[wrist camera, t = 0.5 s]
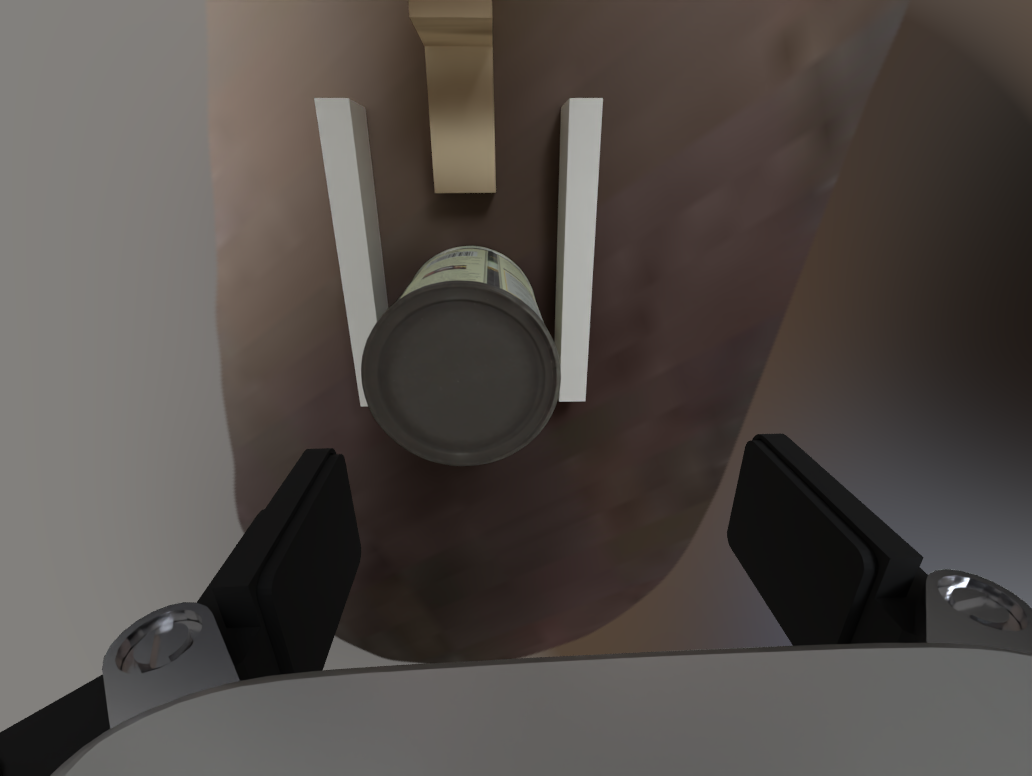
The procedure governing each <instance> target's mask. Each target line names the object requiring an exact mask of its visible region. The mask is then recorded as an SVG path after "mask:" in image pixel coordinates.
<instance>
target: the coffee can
mask: <svg viewBox="0 0 1032 776" xmlns="http://www.w3.org/2000/svg"><path fill="white" fill-rule="evenodd" d="M361 379H362V387H363V391H364V396H365V399H366V402H367V405H368V407H369V409H370V411H371V413H372V415H373V417H374V418H375V420H376V421H377V423H378V424H379V425H380V427H381V428H382V429H383V430H384V431H385V432H386V433H387V434H388V435H389V436H390V437H391V438H392V439H393V440H394V441H395V442H396V443H398V444H399V445H401V446H402V447H403V448H404V449H406V450H408V451H409V452H411V453H413V454H415V455H417V456H419V457H421V458H424V459H426V460H429V461H432V462H436V463H441V464H446V465H452V466H473V465H481V464H487V463H491V462H494V461H497V460H500V459H503V458H505V457H508V456H510V455H512V454H513V453H515V452H517V451H518V450H520V449H522V448H523V447H525V446H526V445H527V444H528V443H530V442H531V441H532V440H533V439H534V438H535V437H536V436H537V435H538V434H539V433H540V432H541V430H542V429H543V428H544V426H545V425H546V424H547V422H548V420H549V419H550V417H551V415H552V413H553V411H554V408H555V406H556V403H557V400H558V396H559V392H560V384H561V368H560V360H559V356H558V352H557V348H556V346H555V343H554V341H553V339H552V337H551V335H550V333H549V331H548V329H547V328H546V326H545V324H544V322H543V320H542V317H541V314H540V311H539V309H538V306H537V304H536V301H535V296H534V293H533V289H532V287H531V285H530V283H529V281H528V279H527V277H526V276H525V274H524V273H523V272H522V270H521V269H520V268H519V267H518V266H517V265H516V264H515V263H514V262H513V261H512V260H510V259H509V258H507V257H506V256H504V255H503V254H501V253H499V252H497V251H494V250H492V249H488V248H485V247H479V246H461V247H455V248H451V249H448V250H446V251H443V252H441V253H439V254H437V255H435V256H434V257H432V258H431V259H430V260H429V261H427V262H426V263H425V264H424V265H423V266H422V267H421V268H420V269H419V271H418V272H417V273H416V275H415V277H414V278H413V280H412V282H411V283H410V284H409V286H408V287H407V288H406V290H405V291H404V292H403V293H402V294H401V295H400V297H399V298H398V300H397V301H396V302H395V303H394V304H393V305H392V306H391V307H390V308H389V309H388V310H387V311H386V312H385V313H384V314H383V315H382V316H381V318H380V319H379V320H378V321H377V323H376V324H375V326H374V327H373V329H372V331H371V333H370V335H369V337H368V338H367V341H366V344H365V347H364V351H363V355H362V363H361Z"/></svg>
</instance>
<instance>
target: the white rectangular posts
mask: <svg viewBox="0 0 1032 776" xmlns="http://www.w3.org/2000/svg"><path fill="white" fill-rule="evenodd" d="M314 101H315V107H316V114H317V121H318V127H319V134H320V141H321V147H322V154H323V160H324V167H325V174H326V180H327V187H328V194H329V200H330V207H331V213H332V220H333V227H334V233H335V240H336V247H337V253H338V260H339V266H340V273H341V280H342V286H343V293H344V300H345V306H346V313H347V319H348V326H349V333H350V339H351V346H352V353H353V359H354V366H355V372H356V379H357V386H358V392H359V399H360V406H361V407H363V406H368V405H367V402H366V399H365V396H364V391H363V387H362V379H361V363H362V355H363V351H364V347H365V344H366V341H367V338H368V337H369V335H370V333H371V331H372V329H373V327H374V326H375V324H376V323H377V321H378V320H379V319H380V318H381V316H382V315H383V314H384V313H385V312H386V311H387V310H388V300H387V291H386V282H385V274H384V265H383V256H382V247H381V239H380V230H379V221H378V212H377V204H376V195H375V186H374V178H373V169H372V160H371V151H370V143H369V134H368V125H367V116H366V108H365V107H364V106H362V105H360V104H359V103H357V102H355V101H353V100H351V99H350V98H314ZM602 107H603V98H569V99H568V100H567V101H566V103H565V104H564V105H563V106H562V107H561V123H560V159H559V195H558V231H557V267H556V302H555V338H554V343H555V346H556V348H557V352H558V356H559V360H560V368H561V384H560V392H559V396H558V399H559V402H572V401H585V399H586V382H587V364H588V347H589V330H590V313H591V296H592V279H593V261H594V244H595V227H596V210H597V193H598V175H599V158H600V141H601V124H602Z"/></svg>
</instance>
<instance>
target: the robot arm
mask: <svg viewBox="0 0 1032 776" xmlns="http://www.w3.org/2000/svg"><path fill="white" fill-rule="evenodd" d="M727 538H728V542H729V545H730V547H731V549H732V551H733V552H734V554H735V555H736V557H737V558H738V560H739V562H740V563H741V565H742V566H743V568H744V569H745V571H746V573H747V574H748V576H749V577H750V579H751V580H752V582H753V584H754V585H755V587H756V588H757V590H758V591H759V593H760V595H761V596H762V598H763V599H764V601H765V602H766V604H767V606H768V607H769V609H770V610H771V612H772V613H773V615H774V616H775V618H776V620H777V621H778V623H779V624H780V626H781V627H782V629H783V631H784V632H785V634H786V635H787V637H788V638H789V640H790V641H791V643H792V645H793V646H777V647H755V648H730V649H709V650H708V649H707V650H684V651H665V652H664V651H663V652H642V653H624V654H623V653H622V654H602V655H582V656H560V657H543V658H542V657H540V658H521V659H503V660H485V661H466V662H448V663H430V664H412V665H396V666H380V667H366V668H351V669H336V670H324V671H322V670H323V667H324V664H325V662H326V658H327V656H328V653H329V650H330V647H331V644H332V641H333V638H334V635H335V633H336V630H337V627H338V624H339V621H340V618H341V615H342V612H343V609H344V606H345V603H346V601H347V598H348V595H349V592H350V589H351V586H352V583H353V580H354V577H355V574H356V572H357V569H358V566H359V563H360V558H361V544H360V539H359V533H358V528H357V523H356V517H355V512H354V507H353V501H352V496H351V490H350V485H349V480H348V474H347V469H346V463H345V459H344V456H343V455H342V454H336V452H335V450H334V449H333V448H327V449H307V450H305V451H304V453H303V454H302V456H301V457H300V459H299V460H298V462H297V463H296V465H295V466H294V467H293V469H292V470H291V472H290V473H289V475H288V476H287V478H286V479H285V481H284V482H283V484H282V485H281V487H280V488H279V489H278V491H277V492H276V494H275V495H274V497H273V498H272V500H271V501H270V503H269V504H268V506H267V507H266V509H264V510H262V511H261V512H260V513H259V514H258V515H257V516H256V518H255V519H254V521H253V522H252V524H251V525H250V526H249V528H248V529H247V531H246V532H245V534H244V535H243V537H242V538H241V540H240V541H239V542H238V544H237V545H236V547H235V548H234V550H233V551H232V553H231V554H230V555H229V557H228V558H227V560H226V561H225V563H224V564H223V566H222V567H221V568H220V570H219V571H218V573H217V574H216V576H215V577H214V578H213V580H212V581H211V583H210V584H209V586H208V587H207V589H206V590H205V591H204V593H203V594H202V596H201V597H200V599H199V600H198V601H197V603H192V602H183V603H178V604H174V605H169V606H167V607H164V608H161V609H158V610H156V611H153V612H151V613H150V614H148V615H146V616H144V617H143V618H141V619H139V620H137V621H136V622H135V623H133V624H132V625H131V626H130V627H128V628H127V629H126V630H124V631H123V632H122V633H121V634H120V635H119V637H118V638H117V639H116V640H115V641H114V642H113V643H112V644H111V646H110V647H109V649H108V651H107V653H106V655H105V656H104V660H103V667H102V671H103V675H101V676H99V677H97V678H96V679H94V680H92V681H91V682H89V683H87V684H85V685H83V686H82V687H80V688H78V689H76V690H75V691H73V692H71V693H69V694H68V695H66V696H64V697H62V698H60V699H59V700H57V701H55V702H53V703H52V704H50V705H48V706H46V707H45V708H43V709H41V710H39V711H37V712H36V713H34V714H32V715H30V716H29V717H27V718H25V719H24V720H21V721H20V722H18V723H16V724H14V725H13V726H11V727H9V728H7V729H6V730H4V731H2V732H0V776H1032V608H1031V607H1030V606H1029V605H1028V604H1027V603H1026V602H1025V601H1023V600H1022V599H1020V598H1019V597H1018V596H1016V595H1015V594H1014V593H1012V592H1011V591H1009V590H1007V589H1005V588H1004V587H1002V586H1000V585H998V584H997V583H995V582H993V581H990V580H988V579H985V578H982V577H980V576H978V575H975V574H971V573H968V572H964V571H959V570H951V569H943V570H935V571H934V572H932V573H930V574H928V575H927V574H926V573H925V572H924V571H923V570H922V569H921V568H920V567H919V566H920V564H921V562H922V559H923V557H922V556H921V555H920V554H919V553H918V552H917V551H916V550H915V549H913V548H912V547H911V546H910V545H909V544H908V543H906V541H904V540H903V539H902V538H901V537H900V536H899V535H898V534H897V533H895V532H894V531H893V530H892V529H891V528H890V527H889V526H888V525H886V524H885V523H884V522H883V521H882V520H881V519H880V518H879V517H877V516H876V515H875V514H874V513H873V512H872V511H871V510H870V509H868V508H867V507H866V506H865V505H864V504H862V502H861V501H859V500H858V499H857V498H856V497H855V496H854V495H853V494H852V493H850V492H849V491H848V490H847V489H846V488H845V487H844V486H843V485H841V484H840V483H839V482H838V481H837V480H836V479H835V478H834V477H832V476H831V475H830V474H829V473H828V472H827V471H826V470H825V469H823V468H822V467H821V466H820V465H819V464H818V463H817V462H815V461H814V460H813V459H812V458H811V457H810V456H809V455H808V454H806V453H805V452H804V451H803V450H802V449H801V448H800V447H799V446H797V445H796V444H795V443H794V442H793V441H792V440H791V439H790V438H788V437H787V436H786V435H784V434H758V435H756V436H755V437H754V438H753V440H752V441H748V442H747V444H746V446H745V451H744V455H743V460H742V465H741V469H740V474H739V479H738V484H737V488H736V493H735V497H734V502H733V507H732V512H731V516H730V521H729V526H728V531H727Z"/></svg>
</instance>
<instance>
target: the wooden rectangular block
mask: <svg viewBox="0 0 1032 776" xmlns="http://www.w3.org/2000/svg"><path fill="white" fill-rule="evenodd" d="M408 5H409V17H410V19H411V21H412V23H413V25H414V27H415V29H416V31H417V33H418V35H419V37H420V39H421V41H422V42H423V44H424V46H425V60H426V75H427V89H428V103H429V118H430V132H431V146H432V161H433V175H434V189H435V193H496V176H495V131H494V86H493V31H492V0H408Z"/></svg>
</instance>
